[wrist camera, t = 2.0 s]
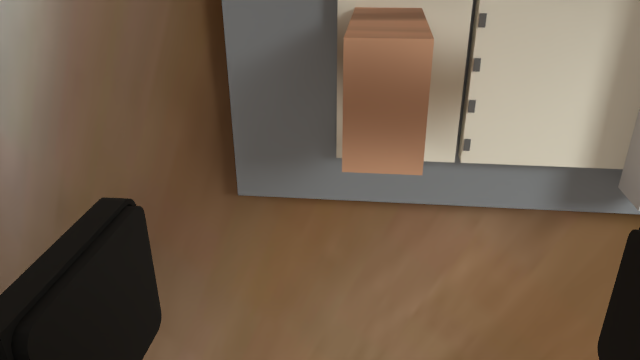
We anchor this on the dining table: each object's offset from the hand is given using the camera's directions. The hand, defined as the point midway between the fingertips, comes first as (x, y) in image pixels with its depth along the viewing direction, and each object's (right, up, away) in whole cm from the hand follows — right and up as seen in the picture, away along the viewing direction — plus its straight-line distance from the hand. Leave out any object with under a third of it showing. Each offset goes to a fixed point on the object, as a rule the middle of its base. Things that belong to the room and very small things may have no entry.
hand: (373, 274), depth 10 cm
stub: (+3, +8, +15) cm, 17 cm away
